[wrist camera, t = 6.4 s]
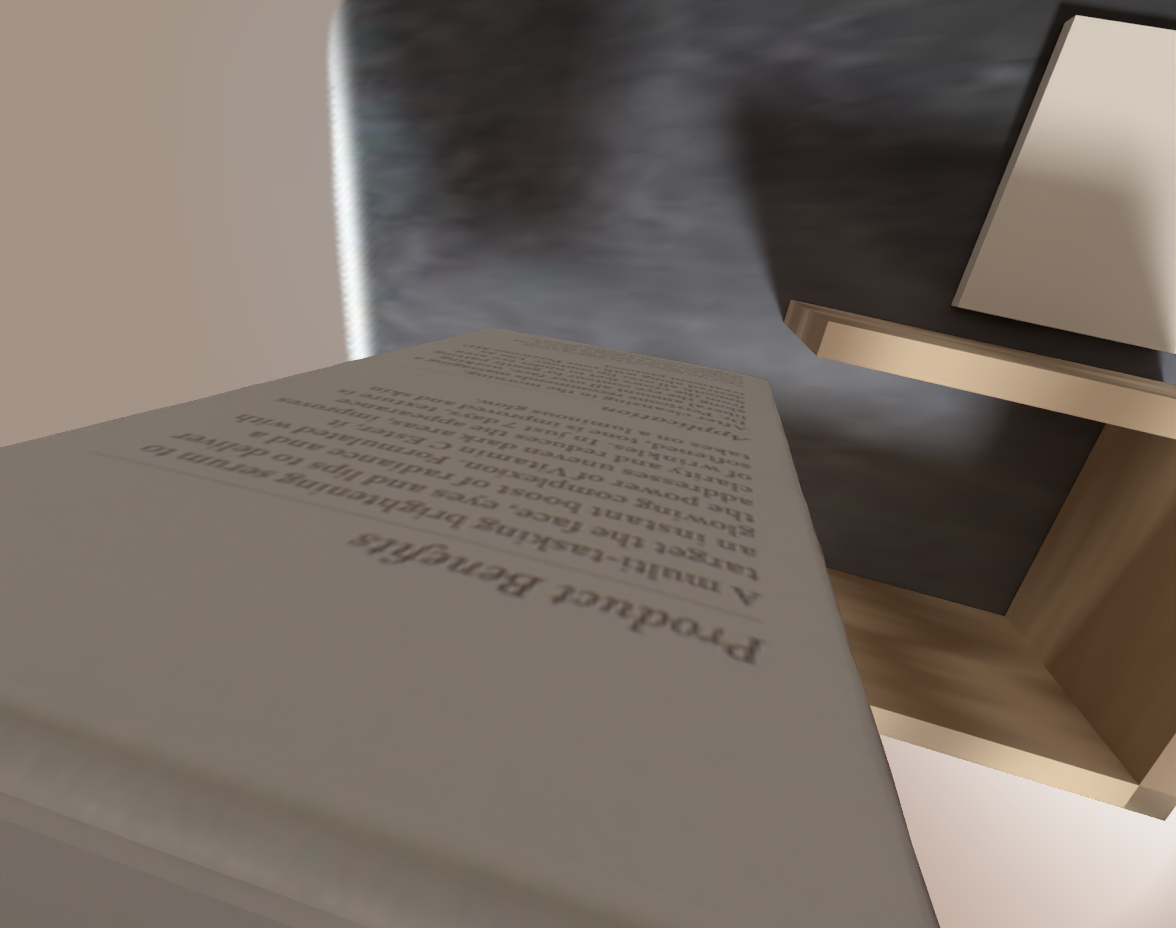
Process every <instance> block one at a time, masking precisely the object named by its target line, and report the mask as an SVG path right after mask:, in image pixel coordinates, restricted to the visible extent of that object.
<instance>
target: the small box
mask: <svg viewBox="0 0 1176 928" xmlns="http://www.w3.org/2000/svg"><path fill="white" fill-rule="evenodd" d="M0 928H940V926H939V923H938V920H937V917H936V914H935V911H934V908H933V905H932V902H931V899H930V897H929V893H928V891H927V887H926V885H925V881H924V879H923V875H922V873H921V869H920V867H919V864H918V861H917V858H916V855H915V852H914V849H913V846H912V842H911V839H910V836H909V832H908V829H907V825H906V822H905V818H904V815H903V811H902V808H901V804H900V801H899V797H898V794H897V790H896V787H895V783H894V780H893V777H892V773H891V770H890V767H889V763H888V761H887V757H886V754H885V751H884V748H883V745H882V741H881V739H880V735H879V732H878V729H877V726H876V723H875V719H874V716H873V713H872V710H871V707H870V704H869V701H868V697H867V694H866V691H865V688H864V685H863V682H862V679H861V677H860V674H859V671H858V668H857V665H856V662H855V659H854V656H853V653H852V649H851V646H850V642H849V639H848V636H847V632H846V629H845V625H844V622H843V619H842V615H841V612H840V609H839V605H838V602H837V599H836V596H835V593H834V590H833V587H832V584H831V581H830V578H829V575H828V572H827V568H826V564H825V559H824V555H823V552H822V549H821V546H820V543H819V541H818V538H817V535H816V532H815V529H814V526H813V523H812V520H811V517H810V513H809V509H808V506H807V504H806V501H805V498H804V496H803V493H802V490H801V487H800V484H799V480H798V476H797V473H796V470H795V466H794V463H793V459H792V456H791V452H790V449H789V445H788V442H787V439H786V435H785V432H784V429H783V426H782V423H781V420H780V417H779V413H778V410H777V407H776V404H775V401H774V398H773V395H772V391H771V387H770V384H769V382H768V381H767V380H766V379H762V378H758V377H753V376H748V375H743V374H738V373H734V372H729V371H724V370H719V369H714V368H710V367H704V366H699V365H694V364H689V363H684V362H679V361H673V360H668V359H663V358H657V357H652V356H646V355H641V354H635V353H630V352H625V351H619V350H614V349H608V348H603V347H598V346H592V345H587V344H582V343H576V342H571V341H566V340H560V339H555V338H550V337H544V336H539V335H533V334H527V333H520V332H514V331H508V330H503V329H498V328H486V329H483V330H479V331H475V332H472V333H467V334H464V335H460V336H455V337H450V338H446V339H443V340H439V341H434V342H430V343H426V344H422V345H417V346H413V347H408V348H404V349H401V350H398V351H393V352H388V353H384V354H380V355H375V356H371V357H367V358H364V359H359V360H354V361H349V362H345V363H341V364H338V365H334V366H331V367H327V368H323V369H318V370H314V371H310V372H306V373H301V374H297V375H293V376H289V377H285V378H282V379H278V380H274V381H270V382H266V383H262V384H257V385H252V386H248V387H244V388H241V389H237V390H233V391H229V392H226V393H222V394H218V395H214V396H210V397H207V398H203V399H198V400H194V401H190V402H187V403H182V404H178V405H173V406H169V407H165V408H161V409H156V410H151V411H147V412H144V413H139V414H135V415H131V416H127V417H123V418H119V419H115V420H111V421H107V422H103V423H100V424H95V425H91V426H87V427H83V428H79V429H75V430H71V431H67V432H62V433H58V434H54V435H51V436H47V437H43V438H39V439H35V440H31V441H27V442H22V443H18V444H14V445H10V446H6V447H1V448H0Z"/></svg>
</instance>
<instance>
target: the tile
mask: <svg viewBox="0 0 1176 928" xmlns="http://www.w3.org/2000/svg"><path fill="white" fill-rule="evenodd" d="M951 306H955V307H960V308H964V309H969V310H974V311H978V312H983V313H987V314H992V315H997V316H1001V317H1006V318H1011V319H1015V320H1020V321H1024V322H1029V323H1034V324H1038V325H1043V326H1048V327H1052V328H1057V329H1062V330H1066V331H1071V332H1075V333H1080V334H1085V335H1089V336H1094V337H1099V338H1103V339H1108V340H1112V341H1117V342H1122V343H1126V344H1131V345H1136V346H1140V347H1145V348H1150V349H1154V350H1159V351H1163V352H1168V353H1173V354H1176V31H1175V30H1169V29H1162V28H1156V27H1150V26H1143V25H1137V24H1130V23H1124V22H1117V21H1111V20H1105V19H1098V18H1092V17H1085V16H1079V15H1075V16H1074V17H1072V18H1071V19H1070V20H1068V21H1067V22H1065V23H1064V26H1063V28H1062V31H1061V33H1060V36H1059V38H1058V41H1057V43H1056V46H1055V48H1054V51H1053V53H1052V56H1051V58H1050V61H1049V63H1048V66H1047V68H1046V71H1045V73H1044V76H1043V78H1042V80H1041V83H1040V85H1039V88H1038V90H1037V93H1036V95H1035V98H1034V100H1033V103H1032V105H1031V108H1030V110H1029V113H1028V115H1027V118H1026V120H1025V123H1024V125H1023V128H1022V130H1021V133H1020V135H1019V138H1018V140H1017V143H1016V145H1015V148H1014V150H1013V153H1012V155H1011V158H1010V160H1009V162H1008V165H1007V167H1006V170H1005V172H1004V175H1003V177H1002V180H1001V182H1000V185H999V187H998V190H997V192H996V195H995V197H994V200H993V202H992V205H991V207H990V210H989V212H988V215H987V217H986V220H985V222H984V225H983V227H982V230H981V232H980V235H979V237H978V240H977V242H976V244H975V247H974V249H973V252H972V254H971V257H970V259H969V262H968V264H967V267H966V269H965V272H964V274H963V277H962V279H961V282H960V284H959V287H958V289H957V292H956V294H955V297H954V299H953V302H952V304H951Z"/></svg>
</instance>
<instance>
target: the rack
mask: <svg viewBox="0 0 1176 928" xmlns="http://www.w3.org/2000/svg"><path fill="white" fill-rule="evenodd" d="M784 323H785V324H786V325H787V326H788V327H789V328H790V329H791V330H792V331H793V332H794V333H795V335H796V336H797V337H798V338H799V339H800V340H801V341H802V342H803V343H804V344H805V345H806V346H807V347H808V348H809V349H810V350H811V351H812V352H813V353H814V354H815V355H816V356H819V357H823V358H827V359H832V360H836V361H840V362H845V363H849V364H853V365H858V366H862V367H866V368H871V369H875V370H879V371H884V372H888V373H892V374H896V375H901V376H905V377H909V378H914V379H918V380H922V381H927V382H931V383H935V384H940V385H944V386H948V387H953V388H957V389H961V390H965V391H970V392H974V393H978V394H983V395H987V396H991V397H996V398H1000V399H1004V400H1009V401H1013V402H1017V403H1022V404H1026V405H1030V406H1034V407H1039V408H1043V409H1047V410H1052V411H1056V412H1060V413H1065V414H1069V415H1073V416H1078V417H1082V418H1086V419H1091V420H1095V421H1099V422H1103V423H1106V424H1105V426H1104V428H1103V430H1102V432H1101V434H1100V436H1099V437H1098V439H1097V441H1096V443H1095V445H1094V447H1093V449H1092V451H1091V453H1090V455H1089V456H1088V458H1087V460H1086V462H1085V464H1084V466H1083V468H1082V470H1081V472H1080V474H1079V476H1078V477H1077V479H1076V481H1075V483H1074V485H1073V487H1072V489H1071V491H1070V493H1069V495H1068V496H1067V498H1066V500H1065V502H1064V504H1063V506H1062V508H1061V510H1060V512H1059V514H1058V516H1057V517H1056V519H1055V521H1054V523H1053V525H1052V527H1051V529H1050V531H1049V533H1048V535H1047V536H1046V538H1045V540H1044V542H1043V544H1042V546H1041V548H1040V550H1039V552H1038V554H1037V556H1036V557H1035V559H1034V561H1033V563H1032V565H1031V567H1030V569H1029V571H1028V573H1027V575H1026V576H1025V578H1024V580H1023V582H1022V584H1021V586H1020V588H1019V590H1018V592H1017V594H1016V596H1015V597H1014V599H1013V601H1012V603H1011V605H1010V607H1009V609H1008V611H1007V613H1006V615H1005V616H1002V615H998V614H995V613H991V612H987V611H984V610H980V609H976V608H973V607H969V606H965V605H962V604H958V603H954V602H951V601H947V600H943V599H940V598H936V597H932V596H929V595H925V594H922V593H918V592H914V591H911V590H907V589H903V588H900V587H896V586H892V585H889V584H885V583H881V582H878V581H874V580H870V579H867V578H863V577H859V576H856V575H852V574H848V573H845V572H841V571H838V570H834V569H830V568H827V567H826V568H827V572H828V575H829V578H830V581H831V584H832V587H833V590H834V593H835V596H836V599H837V602H838V605H839V609H840V612H841V615H842V619H843V622H844V625H845V629H846V632H847V636H848V639H849V642H850V646H851V649H852V653H853V656H854V659H855V662H856V665H857V668H858V671H859V674H860V677H861V679H862V682H863V685H864V688H865V691H866V694H867V697H868V701H869V704H870V707H871V710H872V713H873V716H874V719H875V723H876V726H877V729H878V732H879V734H881V735H885V736H888V737H891V738H894V739H898V740H901V741H904V742H908V743H911V744H914V745H918V746H921V747H924V748H927V749H931V750H934V751H937V752H941V753H944V754H947V755H950V756H953V757H957V758H960V759H964V760H967V761H970V762H973V763H977V764H980V765H983V766H986V767H990V768H993V769H996V770H1000V771H1003V772H1006V773H1010V774H1013V775H1016V776H1019V777H1023V778H1026V779H1029V780H1033V781H1036V782H1039V783H1043V784H1046V785H1049V786H1052V787H1055V788H1059V789H1062V790H1065V791H1069V792H1072V793H1075V794H1079V795H1082V796H1085V797H1088V798H1092V799H1095V800H1098V801H1102V802H1105V803H1108V804H1111V805H1115V806H1118V807H1121V808H1125V809H1128V810H1131V811H1134V812H1138V813H1141V814H1144V815H1148V816H1151V817H1155V818H1157V819H1161V820H1164V821H1165V819H1166V818H1167V817H1168V816H1169V814H1170V813H1171V812H1172V810H1173V809H1174V807H1175V806H1176V385H1172V384H1169V383H1165V382H1161V381H1156V380H1152V379H1147V378H1142V377H1138V376H1133V375H1129V374H1124V373H1120V372H1115V371H1111V370H1106V369H1102V368H1097V367H1093V366H1088V365H1084V364H1079V363H1075V362H1070V361H1066V360H1061V359H1057V358H1052V357H1048V356H1043V355H1039V354H1034V353H1030V352H1025V351H1021V350H1016V349H1012V348H1007V347H1003V346H998V345H994V344H989V343H985V342H980V341H976V340H971V339H967V338H962V337H958V336H953V335H949V334H944V333H940V332H935V331H930V330H926V329H921V328H917V327H912V326H908V325H903V324H899V323H894V322H890V321H885V320H881V319H876V318H872V317H867V316H863V315H858V314H854V313H849V312H845V311H840V310H836V309H831V308H827V307H822V306H818V305H813V304H809V303H804V302H800V301H795V300H791V301H790V304H789V307H788V311H787V314H786V317H785V320H784Z"/></svg>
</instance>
